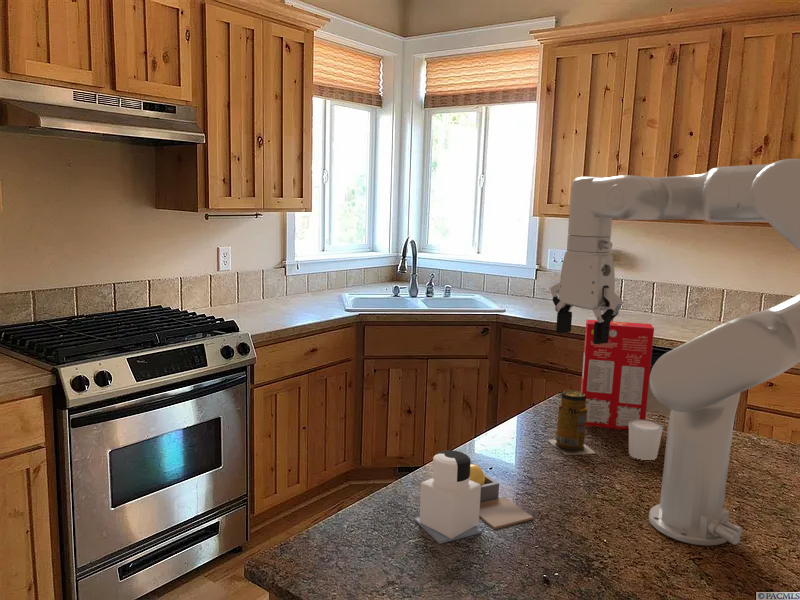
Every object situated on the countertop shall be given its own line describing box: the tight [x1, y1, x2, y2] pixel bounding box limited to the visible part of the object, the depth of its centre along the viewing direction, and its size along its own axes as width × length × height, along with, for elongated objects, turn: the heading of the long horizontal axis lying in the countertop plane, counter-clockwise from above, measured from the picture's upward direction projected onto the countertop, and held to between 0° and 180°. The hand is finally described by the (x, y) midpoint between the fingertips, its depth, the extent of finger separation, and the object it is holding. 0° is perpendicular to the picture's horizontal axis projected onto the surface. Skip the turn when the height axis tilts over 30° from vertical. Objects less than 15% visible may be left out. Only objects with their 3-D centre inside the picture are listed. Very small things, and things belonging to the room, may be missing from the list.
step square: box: [479, 496, 534, 530], centre depth 110 cm, size 8×8×1 cm
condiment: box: [547, 390, 596, 456], centre depth 140 cm, size 7×8×12 cm
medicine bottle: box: [419, 449, 481, 539], centre depth 105 cm, size 7×7×12 cm
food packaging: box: [580, 319, 655, 430], centre depth 154 cm, size 15×5×25 cm, turn 77°
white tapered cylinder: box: [628, 419, 664, 461], centre depth 137 cm, size 7×7×7 cm
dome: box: [470, 463, 486, 485], centre depth 117 cm, size 5×5×5 cm
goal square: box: [414, 516, 483, 545], centre depth 106 cm, size 8×8×1 cm
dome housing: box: [480, 472, 500, 503], centre depth 117 cm, size 7×7×3 cm
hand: (581, 337), depth 120 cm, fingers open, 9 cm apart
